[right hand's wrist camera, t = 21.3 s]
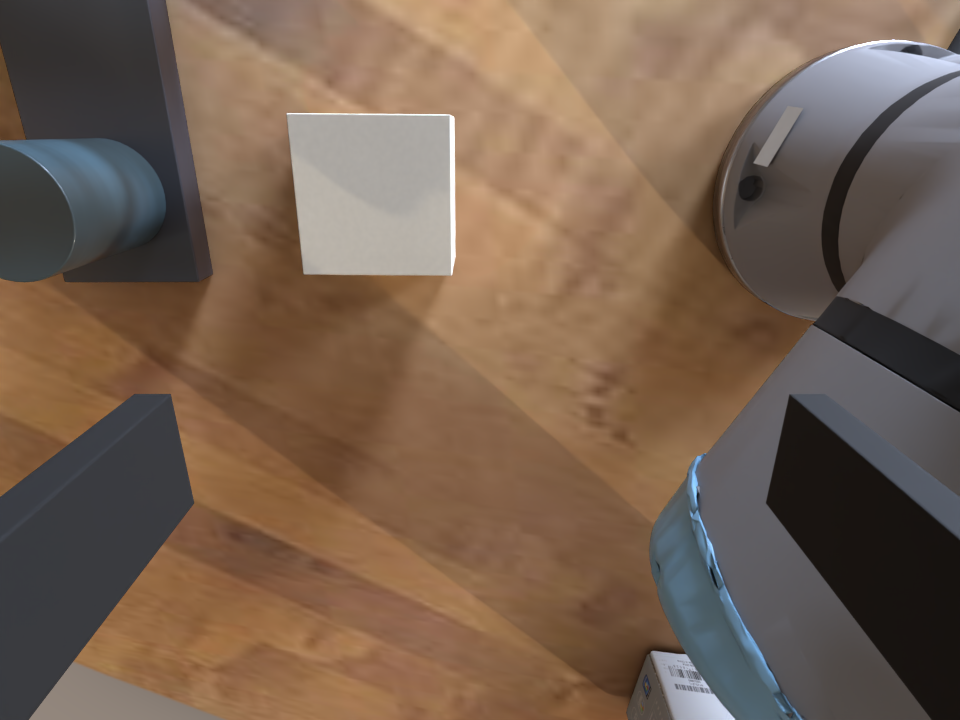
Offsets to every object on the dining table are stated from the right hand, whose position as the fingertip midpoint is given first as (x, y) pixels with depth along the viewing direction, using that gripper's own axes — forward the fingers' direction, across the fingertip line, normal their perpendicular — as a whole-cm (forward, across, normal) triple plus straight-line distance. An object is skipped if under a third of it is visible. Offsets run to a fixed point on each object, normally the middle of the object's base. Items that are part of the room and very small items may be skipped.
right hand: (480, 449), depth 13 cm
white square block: (+25, -6, +3) cm, 26 cm away
